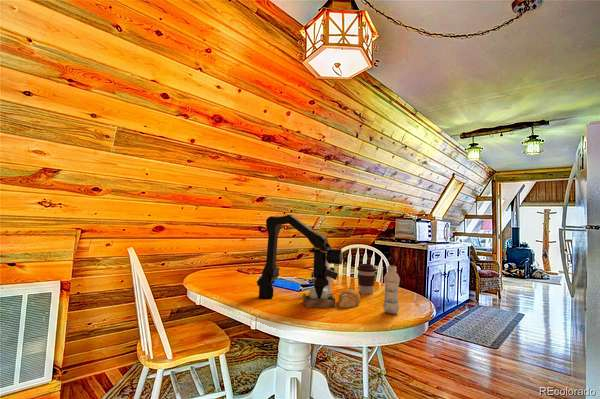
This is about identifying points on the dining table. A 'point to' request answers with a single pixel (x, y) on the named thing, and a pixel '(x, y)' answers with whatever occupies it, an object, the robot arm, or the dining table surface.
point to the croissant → (349, 298)
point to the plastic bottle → (391, 291)
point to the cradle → (318, 302)
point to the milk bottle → (328, 281)
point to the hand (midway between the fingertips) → (318, 296)
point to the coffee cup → (366, 278)
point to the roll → (314, 296)
